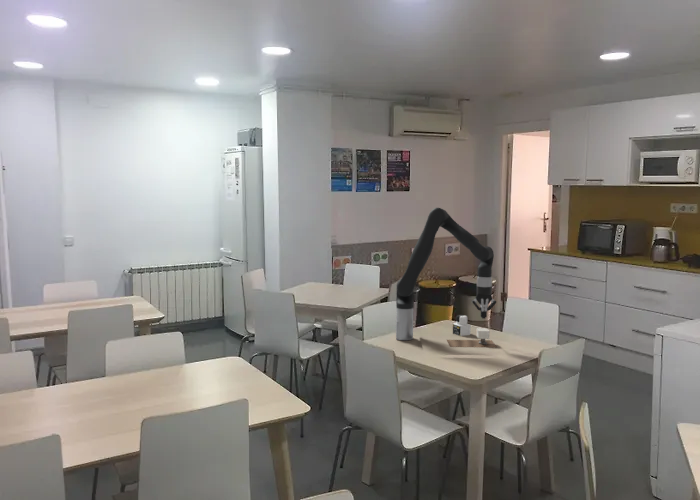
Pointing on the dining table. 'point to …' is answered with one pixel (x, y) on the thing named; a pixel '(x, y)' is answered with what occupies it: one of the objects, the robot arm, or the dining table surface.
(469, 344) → the post board
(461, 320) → the medicine bottle
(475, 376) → the dining table surface
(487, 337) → the cap
